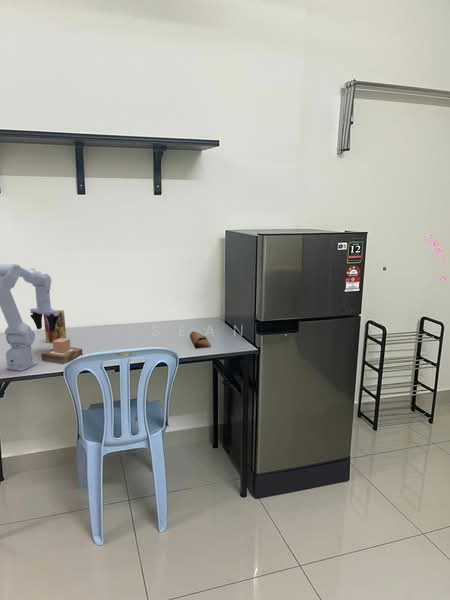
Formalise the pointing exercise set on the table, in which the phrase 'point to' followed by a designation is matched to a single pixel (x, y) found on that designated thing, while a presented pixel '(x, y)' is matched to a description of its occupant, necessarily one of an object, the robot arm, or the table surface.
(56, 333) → the candy box
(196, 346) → the sunglasses case
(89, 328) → the table surface
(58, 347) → the cube
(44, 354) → the plinth
